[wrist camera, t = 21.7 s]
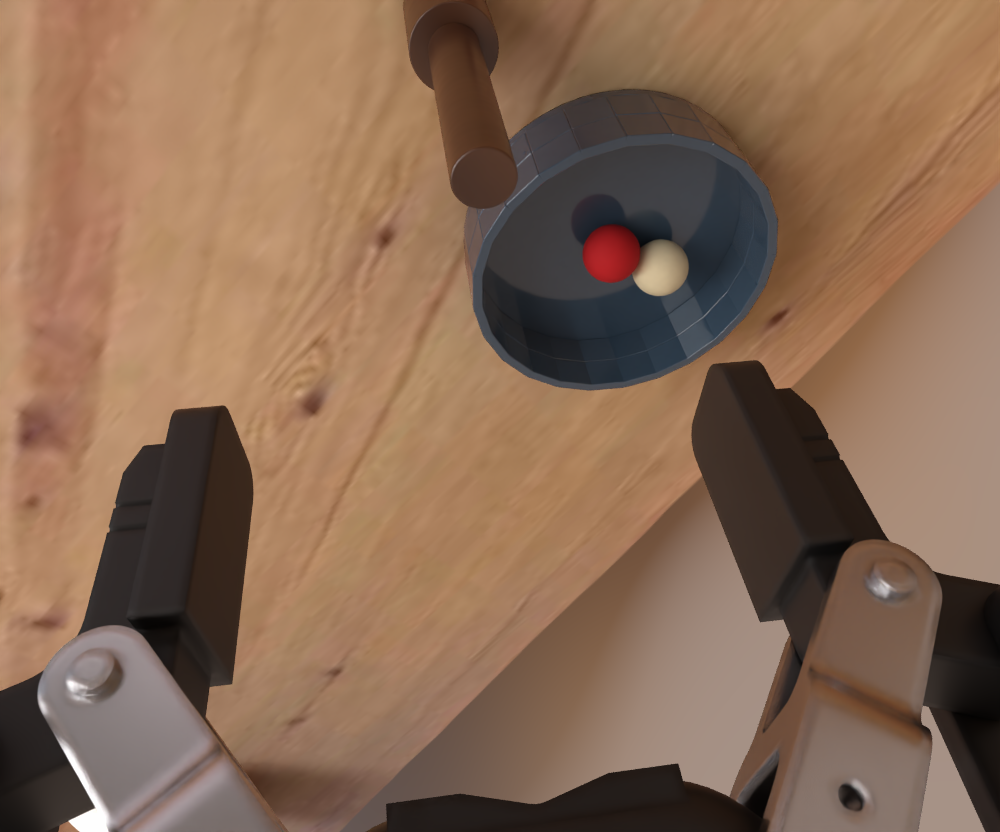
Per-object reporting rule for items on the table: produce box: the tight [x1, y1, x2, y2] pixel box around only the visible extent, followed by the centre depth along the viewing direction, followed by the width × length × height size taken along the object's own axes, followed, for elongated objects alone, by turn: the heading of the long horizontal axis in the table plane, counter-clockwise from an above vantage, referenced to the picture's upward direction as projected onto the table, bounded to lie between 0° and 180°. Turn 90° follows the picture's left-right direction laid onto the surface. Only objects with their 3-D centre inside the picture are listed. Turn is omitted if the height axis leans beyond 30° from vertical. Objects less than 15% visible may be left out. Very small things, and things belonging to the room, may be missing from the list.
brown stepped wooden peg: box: [403, 0, 518, 209], centre depth 26 cm, size 3×3×14 cm
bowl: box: [464, 90, 778, 390], centre depth 39 cm, size 15×15×4 cm
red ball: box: [583, 224, 640, 283], centre depth 39 cm, size 3×3×3 cm
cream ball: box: [632, 239, 689, 296], centre depth 40 cm, size 3×3×3 cm
